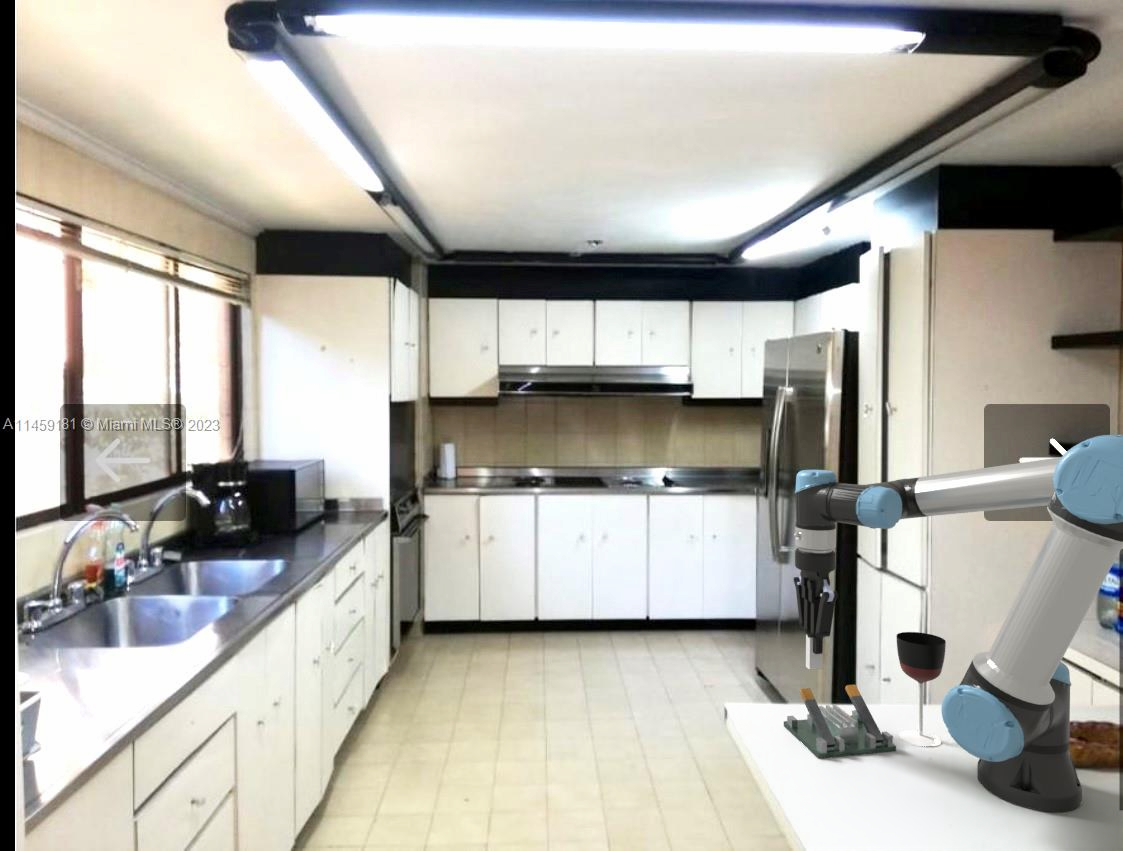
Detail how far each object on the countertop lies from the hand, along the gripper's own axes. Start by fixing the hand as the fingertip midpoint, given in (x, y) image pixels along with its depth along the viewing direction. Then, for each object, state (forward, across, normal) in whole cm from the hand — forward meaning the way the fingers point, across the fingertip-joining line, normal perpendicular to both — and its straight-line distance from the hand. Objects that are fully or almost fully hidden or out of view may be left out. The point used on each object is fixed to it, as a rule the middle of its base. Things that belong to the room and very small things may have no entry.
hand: (814, 667), depth 142 cm
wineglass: (+15, +3, +21) cm, 26 cm away
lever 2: (+10, +1, +10) cm, 14 cm away
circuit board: (+15, 0, +5) cm, 16 cm away
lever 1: (+10, +1, 0) cm, 10 cm away
